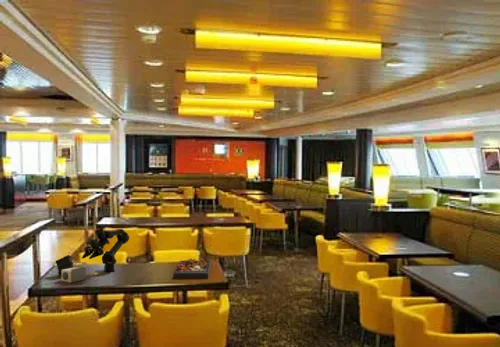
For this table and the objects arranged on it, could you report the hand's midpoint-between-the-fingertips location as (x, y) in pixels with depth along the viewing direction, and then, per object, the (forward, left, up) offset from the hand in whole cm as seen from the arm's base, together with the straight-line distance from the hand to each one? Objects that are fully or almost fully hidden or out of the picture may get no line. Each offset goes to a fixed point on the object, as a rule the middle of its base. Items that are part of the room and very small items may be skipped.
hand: (85, 258), depth 356 cm
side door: (+7, +6, -14) cm, 17 cm away
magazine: (+10, -17, -14) cm, 24 cm away
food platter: (-73, +26, -15) cm, 79 cm away
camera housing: (+9, +1, -14) cm, 17 cm away
